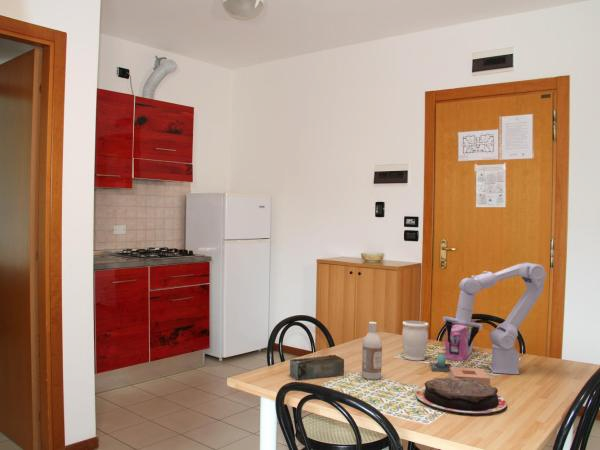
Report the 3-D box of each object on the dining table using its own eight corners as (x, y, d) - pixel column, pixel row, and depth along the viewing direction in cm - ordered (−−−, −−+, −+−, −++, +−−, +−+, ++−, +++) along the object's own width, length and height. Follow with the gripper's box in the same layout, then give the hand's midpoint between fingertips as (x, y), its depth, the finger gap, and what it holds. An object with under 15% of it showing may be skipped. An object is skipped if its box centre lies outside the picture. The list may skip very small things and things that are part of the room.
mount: (450, 366, 206) (450, 363, 206) (453, 372, 198) (453, 369, 198) (429, 365, 207) (429, 362, 207) (431, 371, 199) (432, 368, 199)
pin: (444, 368, 204) (445, 350, 204) (445, 370, 201) (446, 352, 201) (436, 367, 204) (437, 349, 204) (437, 369, 201) (438, 351, 201)
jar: (425, 355, 222) (426, 320, 222) (429, 362, 212) (430, 325, 212) (400, 354, 223) (401, 319, 223) (402, 361, 213) (403, 324, 213)
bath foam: (370, 381, 184) (371, 325, 184) (357, 376, 190) (359, 321, 190) (385, 378, 188) (386, 323, 188) (372, 373, 194) (373, 320, 194)
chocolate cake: (437, 382, 186) (438, 364, 186) (518, 400, 169) (519, 380, 169) (399, 402, 165) (400, 381, 165) (488, 425, 147) (488, 402, 147)
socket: (482, 376, 194) (482, 368, 194) (489, 386, 182) (490, 378, 182) (449, 374, 195) (449, 366, 195) (454, 384, 183) (454, 376, 183)
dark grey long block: (288, 375, 190) (289, 357, 190) (335, 370, 198) (335, 353, 198) (297, 381, 183) (297, 362, 183) (345, 376, 191) (345, 358, 191)
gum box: (463, 362, 213) (464, 329, 213) (443, 359, 217) (444, 327, 216) (473, 350, 234) (473, 320, 234) (455, 348, 238) (455, 318, 238)
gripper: (445, 306, 199) (439, 341, 199) (485, 314, 195) (479, 350, 195) (445, 304, 206) (439, 338, 206) (483, 312, 202) (477, 346, 202)
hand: (458, 343), depth 201 cm, fingers open, 7 cm apart
